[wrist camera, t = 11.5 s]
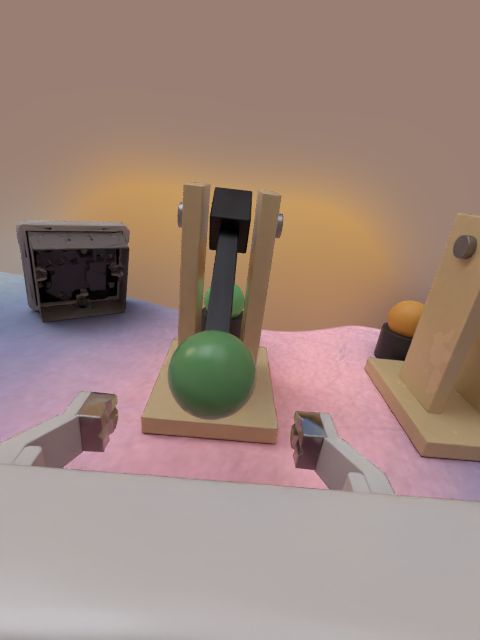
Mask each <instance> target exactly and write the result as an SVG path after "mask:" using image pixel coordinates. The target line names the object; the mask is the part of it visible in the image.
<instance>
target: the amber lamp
mask: <svg viewBox="0 0 480 640" xmlns="http://www.w3.org/2000/svg"><path fill="white" fill-rule="evenodd" d="M423 308H424V305H423V304H421V303H419V302H417V301H410V300H409V301H403V302H400V303H398V304H396V305H395V306H394V307H393V308H392V309H391V310H390V312H389V314H388V322H387V323H384V324H383V326H382V329H381V332H380V335H379V339H378V342H377V345H376V348H375V351H374V354H375V356H376V357H377V358H378V359H388V360H399V361H405V358H406V356H407V353H408V350H409V347H410V345H411V342H412V339H413V336H414V333H415V331H416V328H417V325H418V322H419V320H420V317H421V314H422V311H423Z"/></svg>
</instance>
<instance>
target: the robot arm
mask: <svg viewBox="0 0 480 640" xmlns="http://www.w3.org/2000/svg"><path fill="white" fill-rule="evenodd" d="M116 404H117V396H116V394H107V393H98V392H88V391H80V392H79V393H78V394H77V395H76V397H75V398H74V399H73V401H72V402H71V403H70V405H69V406H68V407H67V409H66V410H65V411H64V413H63V414H62V415H59V414H58V415H56V416H54V417H52V418H50V419H48V420H46V421H44V422H42V423H40V424H38V425H36V426H34V427H32V428H30V429H28V430H26V431H24V432H22V433H20V434H18V435H16V436H14V437H12V438H10V439H8V440H6V441H4V442H2V443H1V444H0V640H480V501H467V500H454V499H441V498H428V497H416V496H403V495H395V493H394V491H393V488H392V486H391V484H390V482H389V480H388V478H387V476H386V474H385V473H383V472H382V471H381V470H380V469H379V468H377V467H376V466H375V465H374V464H372V463H371V462H370V461H369V460H368V459H366V458H365V457H364V456H363V455H362V454H360V453H359V452H358V451H357V450H355V449H354V448H353V447H352V446H351V445H349V444H348V443H347V442H346V441H345V440H343V439H340V438H339V436H338V433H337V430H336V428H335V425H334V423H333V420H332V418H331V415H330V414H329V413H320V412H318V413H315V412H304V411H296V412H295V415H294V422H295V424H294V425H292V428H291V437H290V439H291V447H292V448H293V449H294V454H293V458H294V463H295V468H301V469H310V470H315V472H316V473H317V474H318V475H319V477H320V478H321V479H322V480H323V482H324V483H325V484H326V485H327V487H328V488H329V489H330V490H328V489H315V488H302V487H290V486H277V485H265V484H252V483H240V482H227V481H215V480H202V479H189V478H177V477H164V476H152V475H139V474H127V473H114V472H102V471H89V470H77V469H64V468H62V467H64V466H65V465H66V464H68V463H69V462H70V461H72V460H73V459H74V458H76V457H77V456H78V455H79V454H81V453H82V452H83V451H93V452H104V450H105V448H106V446H107V444H108V442H109V435H110V434H112V433H113V432H114V430H115V428H116V424H117V421H118V410H117V409H116V408H115V406H116Z"/></svg>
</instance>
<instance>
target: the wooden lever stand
mask: <svg viewBox="0 0 480 640" xmlns="http://www.w3.org/2000/svg"><path fill="white" fill-rule="evenodd" d="M209 199H210V184H206V183H198V182H194V183H186V184H184V186H183V202H181V203H180V204H179V207H178V226H179V227H182V240H181V241H182V242H181V268H180V297H179V298H180V299H179V324H178V339H174V340H173V342H172V344H171V347H170V349H169V352H168V354H167V356H166V359H165V361H164V364H163V366H162V369H161V371H160V373H159V376H158V378H157V381H156V383H155V385H154V388H153V390H152V393H151V395H150V398H149V400H148V402H147V405H146V407H145V410H144V412H143V414H142V417H141V423H142V432H143V433H154V434H166V435H177V436H189V437H201V438H213V439H224V440H236V441H248V442H260V443H271V444H275V442H276V437H277V432H278V425H277V419H276V412H275V405H274V398H273V391H272V385H271V378H270V371H269V364H268V357H267V351H266V348H265V347H259V343H260V336H261V329H262V323H263V315H264V309H265V303H266V295H267V289H268V282H269V275H270V269H271V262H272V256H273V249H274V242H275V238H280V236H281V232H282V226H283V214H279V208H280V202H281V195H280V194H278V193H275V192H273V191H266V190H258V195H257V204H256V211H255V220H254V228H253V236H252V244H251V253H250V262H249V269H248V277H247V285H246V294H245V302H244V310H243V318H242V327H241V335H240V340H241V341H242V342H243V343H244V344H245V345H246V346H247V347H248V348H249V350H250V351H251V353H252V355H253V358H254V360H255V364H256V370H257V379H256V385H255V389H254V391H253V394H252V396H251V397H250V399H249V401H248V402H247V403H246V405H245V406H244V407H242V408H241V409H240V410H239V411H238V412H236V413H235V414H233V415H231V416H229V417H226V418H223V419H218V420H205V419H200V418H197V417H194V416H192V415H190V414H189V413H187V412H185V411H184V410H183V409H182V408H181V407H180V406H179V405H178V404H177V403H176V401H175V400H174V398H173V396H172V394H171V391H170V388H169V385H168V367H169V363H170V360H171V357H172V355H173V353H174V352H175V350H176V349H177V347H178V346H179V345H180V344H181V343H182V342H183V341H184V340H185V339H187V338H188V337H190V336H191V335H193V334H196V333H198V332H201V319H202V304H203V289H204V273H205V259H206V243H207V228H208V213H209Z"/></svg>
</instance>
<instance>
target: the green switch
mask: <svg viewBox="0 0 480 640" xmlns="http://www.w3.org/2000/svg"><path fill="white" fill-rule="evenodd" d="M251 206H252V192H251V191H244V190H236V189H227V188H219V187H216V188H215V191H214V197H213V202H212V208H211V213H210V235H209V249H210V250H216V256H215V263H214V270H213V277H212V283H211V290H210V297H209V304H208V311H207V317H206V324H205V331H202V332H198V333H196V334H193V335H191V336H190V337H188V338H187V339H185V340H184V341H183V342H182V343H181V344H180V345H179V346H178V347H177V349H176V350H175V352H174V353H173V355H172V357H171V360H170V363H169V367H168V385H169V388H170V391H171V394H172V396H173V398H174V400H175V401H176V403H177V404H178V405H179V406H180V407H181V408H182V409H183V410H184V411H185V412H187V413H189V414H190V415H192V416H194V417H197V418H200V419H205V420H218V419H223V418H226V417H229V416H231V415H233V414H235V413H236V412H238V411H239V410H240V409H241V408H242V407H244V406H245V405H246V403H247V402H248V401H249V399H250V397H251V396H252V394H253V391H254V389H255V385H256V379H257V370H256V364H255V360H254V358H253V355H252V353H251V351H250V350H249V348H248V347H247V346H246V345H245V344H244V343H243V342H242V341H241V340H240V339H239V338H237V337H236V336H234V335H232V334H230V328H231V317H232V306H233V295H234V284H235V272H236V261H237V253H246V250H247V243H248V235H249V228H250V222H251Z"/></svg>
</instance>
